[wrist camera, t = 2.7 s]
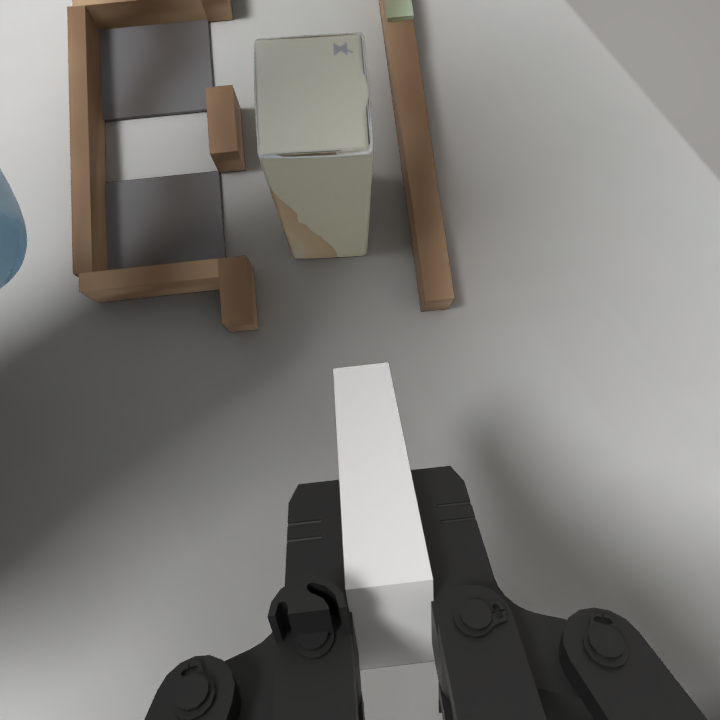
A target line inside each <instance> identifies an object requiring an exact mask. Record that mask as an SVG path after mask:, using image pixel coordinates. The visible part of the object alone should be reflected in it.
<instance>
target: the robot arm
mask: <svg viewBox="0 0 720 720" xmlns="http://www.w3.org/2000/svg"><path fill="white" fill-rule="evenodd" d="M26 247H27V233H26V227H25V222H24V219H23V216H22V213H21V210H20V207H19V205H18V202H17V200H16V198H15V196H14V194H13V191H12V189H11V187H10V185H9V184H8V182H7V180H6V178H5V176H4V175H3V173H2V171H1V169H0V288H2V287H3V286H4V285H6V284H7V283H8V282H9V281H10V280H11V279H12V278H13V276H14V275H15V274H16V273H17V272H18V270H19V269H20V267H21V265H22V263H23V260H24V257H25V253H26ZM333 375H334V393H335V411H336V429H337V447H338V465H339V480H334V481H325V482H316V483H307V484H299V485H298V487H297V488H296V490H295V492H294V494H293V496H292V498H291V500H290V502H289V510H288V531H287V553H286V574H285V587H283V588H282V589H281V590H280V591H279V592H278V594H277V595H276V596H275V598H274V599H273V601H272V602H271V606H270V609H269V613H268V619H269V622H270V625H271V629H272V633H271V634H270V635H269V636H268V637H267V638H266V639H265V640H264V641H263V642H262V643H260V644H258V645H257V646H255V647H253V648H252V649H250V650H248V651H246V652H244V653H241V654H239V655H237V656H235V657H233V658H231V659H229V660H226V661H223V660H221V659H218V658H216V657H213V656H210V655H207V656H195V657H193V658H191V659H188V660H186V661H184V662H182V663H180V664H179V665H178V666H177V667H176V668H174V669H173V670H172V671H171V672H170V673H169V674H168V675H167V676H166V678H165V679H164V681H163V682H162V684H161V686H160V687H159V689H158V690H157V692H156V695H155V697H154V699H153V702H152V704H151V706H150V708H149V711H148V713H147V715H146V718H145V720H365V717H364V703H363V698H362V692H361V679H360V670H365V669H373V668H381V667H390V666H398V665H407V664H415V663H423V662H432V661H434V658H435V664H436V669H437V674H438V680H439V713H442V715H443V720H707V719H706V717H705V716H704V715H703V714H702V712H701V711H700V710H699V708H698V707H697V706H696V705H695V703H694V702H693V701H692V699H691V698H690V697H689V696H688V694H687V693H686V692H685V690H684V689H683V688H682V687H681V685H680V684H679V683H678V681H677V680H676V679H675V678H674V676H673V675H672V674H671V673H670V671H669V670H668V669H667V667H666V666H665V665H664V664H663V662H662V661H661V660H660V658H659V657H658V656H657V655H656V653H655V652H654V651H653V649H652V648H651V647H650V646H649V644H648V643H647V642H646V640H645V639H644V638H643V637H642V635H641V634H640V633H639V632H638V631H637V630H636V629H635V628H634V627H633V626H632V625H631V624H630V623H629V622H628V621H627V620H626V619H624V618H622V617H621V616H619V615H617V614H615V613H613V612H611V611H608V610H603V609H598V608H589V609H583V610H579V611H578V612H576V613H575V614H573V615H572V616H570V617H569V618H568V620H566V619H561V618H556V617H551V616H546V615H541V614H537V613H533V612H530V611H527V610H525V609H523V608H521V607H519V606H517V605H516V604H514V603H513V602H512V601H511V600H509V599H508V598H507V597H506V596H505V595H504V594H503V592H502V591H501V590H500V588H499V587H498V585H497V583H496V581H495V578H494V576H493V572H492V569H491V566H490V563H489V560H488V556H487V553H486V550H485V547H484V544H483V540H482V537H481V534H480V531H479V528H478V524H477V521H476V520H475V515H474V511H473V508H472V505H471V504H470V499H469V495H468V492H467V489H466V486H465V483H464V481H463V480H462V479H461V477H460V476H459V475H458V474H457V473H456V472H455V471H454V470H453V469H452V467H451V466H444V467H436V468H427V469H418V470H410V465H409V461H408V456H407V451H406V446H405V441H404V436H403V432H402V427H401V422H400V417H399V412H398V407H397V402H396V398H395V393H394V388H393V383H392V378H391V373H390V369H389V364H388V362H387V363H378V364H369V365H360V366H351V367H342V368H334V369H333Z"/></svg>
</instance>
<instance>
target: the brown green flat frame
mask: <svg viewBox="0 0 720 720" xmlns="http://www.w3.org/2000/svg"><path fill="white" fill-rule="evenodd" d="M72 2H73V7H67V16H68V63H69V110H70V157H71V204H72V251H73V274H74V275H75V276H77V277H79V292H81V293H82V294H84V295H86V296H87V297H89V298H91V299H93V300H94V301H96V302H107V301H117V300H126V299H135V298H145V297H154V296H163V295H173V294H182V293H191V292H200V291H210V290H220V304H221V318H222V324H223V325H224V326H225V327H226V328H227V329H228V330H229V331H230V332H238V331H247V330H256V329H258V318H257V306H256V294H255V282H254V270H253V267H252V265H251V263H250V262H249V260H248V258H247V256H237V257H228V258H226V256H225V242H224V229H223V215H222V201H221V188H220V174H219V173H221V172H231V171H241V170H245V160H244V148H243V135H242V123H241V111H240V106H239V103H238V100H237V97H236V94H235V91H234V88H233V85H228V86H218V87H213V78H212V64H211V50H210V37H209V23H208V22H213V21H223V20H233V13H232V1H231V0H72ZM379 5H380V13H381V20H382V27H383V35H384V42H385V49H386V57H387V64H388V71H389V79H390V86H391V93H392V101H393V108H394V115H395V123H396V130H397V137H398V145H399V152H400V159H401V167H402V174H403V181H404V189H405V196H406V203H407V211H408V218H409V225H410V233H411V240H412V247H413V255H414V262H415V269H416V277H417V284H418V291H419V299H420V306H421V311H430V310H439V309H448V308H449V306H450V305H451V303H452V301H453V300H454V291H453V285H452V278H451V271H450V264H449V258H448V251H447V244H446V237H445V231H444V224H443V217H442V210H441V204H440V197H439V190H438V183H437V177H436V170H435V163H434V156H433V150H432V143H431V136H430V129H429V123H428V116H427V109H426V102H425V96H424V89H423V82H422V75H421V69H420V62H419V55H418V48H417V42H416V35H415V28H414V21H413V18H414V14H413V7H412V0H379ZM204 111H207V118H208V133H209V147H210V155H211V157H212V159H213V161H214V163H215V165H216V167H217V169H218V171H213V172H203V173H193V174H184V175H174V176H164V177H155V178H145V179H135V180H125V181H116V182H106V154H105V124H104V122H105V121H115V120H125V119H135V118H145V117H155V116H165V115H175V114H185V113H194V112H204Z"/></svg>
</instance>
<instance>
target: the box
mask: <svg viewBox="0 0 720 720" xmlns="http://www.w3.org/2000/svg"><path fill="white" fill-rule="evenodd" d="M254 90H255V115H256V134H257V153H258V157H259V160H260V162H261V165H262V168H263V171H264V174H265V177H266V180H267V183H268V185H269V188H270V191H271V194H272V197H273V200H274V203H275V206H276V209H277V211H278V214H279V217H280V220H281V223H282V227H283V229H284V232H285V235H286V238H287V241H288V243H289V246H290V249H291V252H292V255H293V257H294V258H296V259H305V258H332V257H349V256H363V255H366V253H367V249H368V233H369V216H370V198H371V182H372V164H373V136H372V118H371V105H370V92H369V79H368V69H367V59H366V49H365V38H364V35H363V34H362V33H346V34H324V35H306V36H292V37H281V38H268V39H258V40H256V41H255V43H254Z"/></svg>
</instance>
